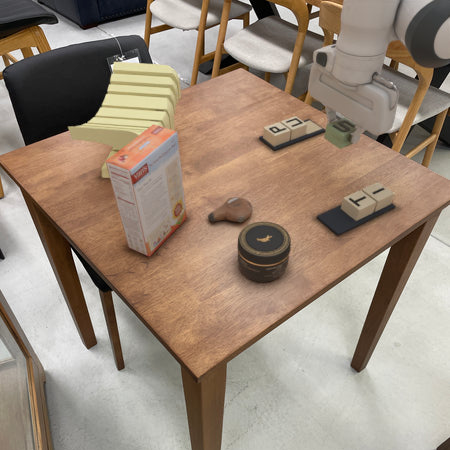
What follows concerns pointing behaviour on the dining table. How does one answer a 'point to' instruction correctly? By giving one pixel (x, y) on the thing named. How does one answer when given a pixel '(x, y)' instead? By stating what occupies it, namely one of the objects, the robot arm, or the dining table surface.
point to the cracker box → (149, 188)
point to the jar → (263, 251)
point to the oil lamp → (232, 210)
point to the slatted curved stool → (132, 106)
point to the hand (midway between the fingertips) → (342, 134)
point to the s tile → (339, 132)
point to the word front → (358, 208)
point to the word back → (289, 132)
